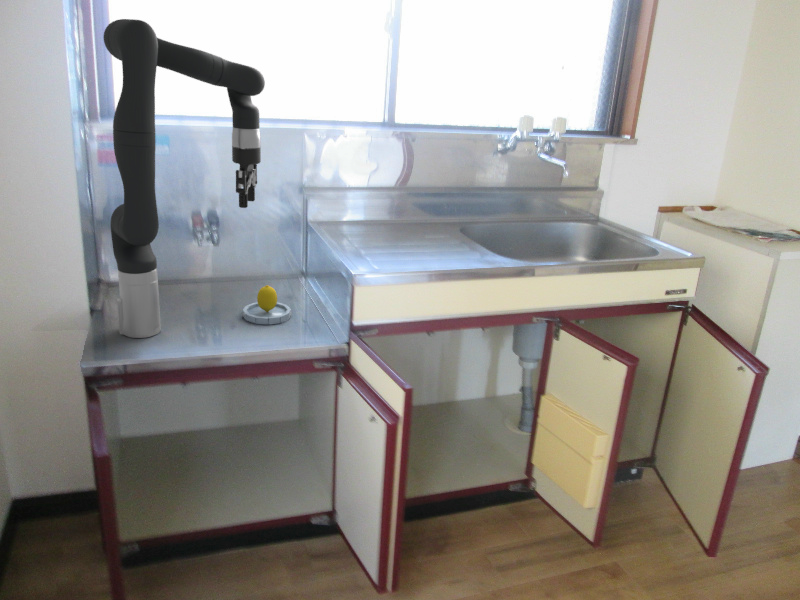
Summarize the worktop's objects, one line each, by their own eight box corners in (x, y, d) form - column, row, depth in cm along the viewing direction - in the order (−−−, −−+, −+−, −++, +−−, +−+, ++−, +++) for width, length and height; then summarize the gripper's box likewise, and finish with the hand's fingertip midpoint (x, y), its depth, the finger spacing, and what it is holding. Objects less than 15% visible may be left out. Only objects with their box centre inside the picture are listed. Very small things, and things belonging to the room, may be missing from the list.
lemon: (253, 312, 188) (252, 285, 185) (265, 307, 193) (265, 280, 190) (268, 317, 186) (268, 289, 183) (281, 311, 190) (281, 284, 187)
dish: (238, 322, 183) (238, 316, 182) (249, 305, 195) (249, 300, 195) (285, 325, 183) (285, 319, 182) (293, 309, 195) (294, 303, 195)
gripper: (239, 140, 187) (240, 198, 192) (225, 147, 173) (226, 208, 179) (265, 142, 187) (266, 200, 192) (254, 149, 173) (254, 210, 179)
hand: (247, 204), depth 185 cm, fingers open, 8 cm apart
